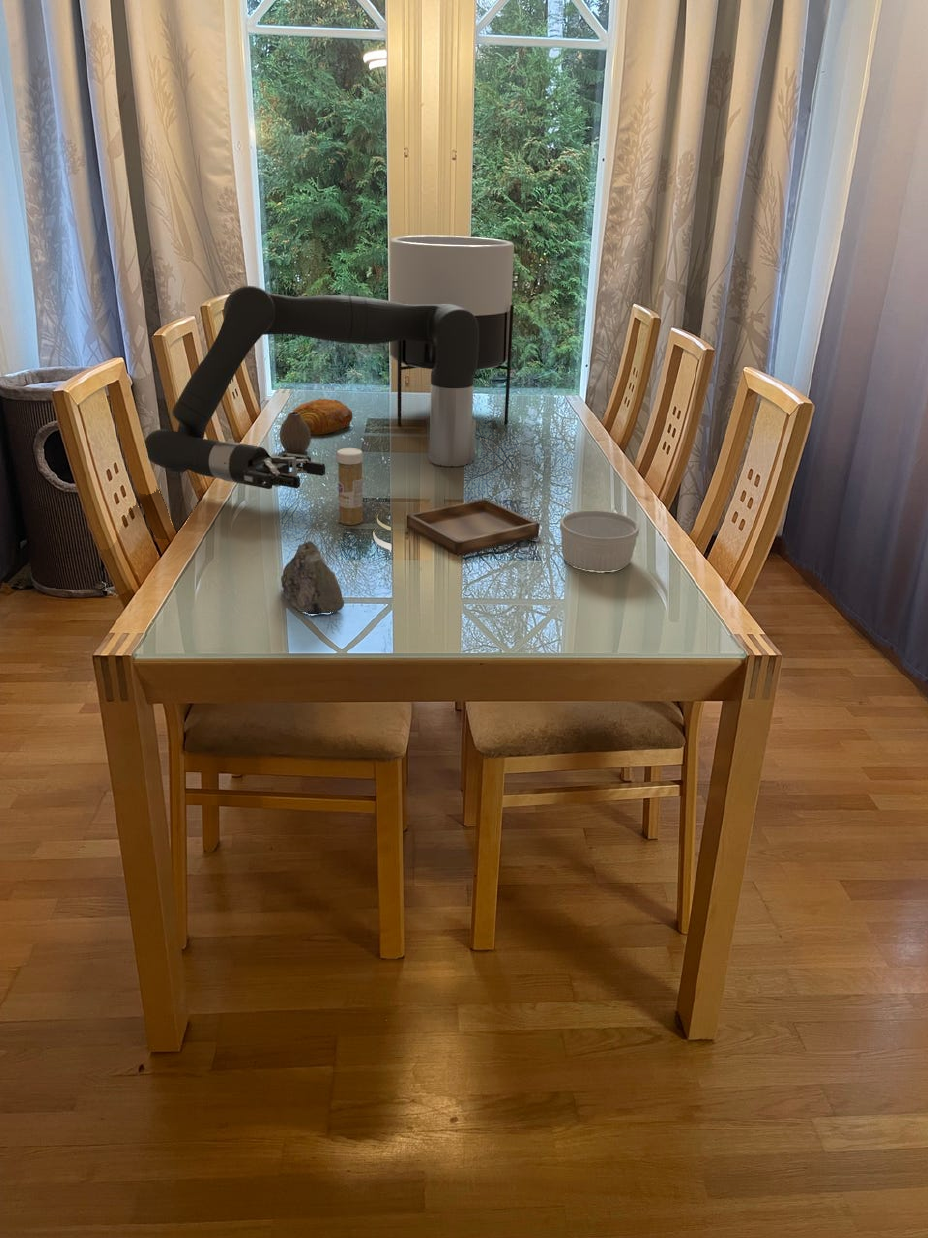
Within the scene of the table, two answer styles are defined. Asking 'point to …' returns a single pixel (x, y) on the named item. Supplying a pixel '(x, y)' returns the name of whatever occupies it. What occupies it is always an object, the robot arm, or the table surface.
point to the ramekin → (598, 539)
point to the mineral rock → (311, 582)
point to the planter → (455, 294)
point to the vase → (295, 434)
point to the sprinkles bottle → (350, 485)
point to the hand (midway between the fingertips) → (312, 475)
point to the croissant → (325, 415)
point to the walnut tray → (472, 526)
